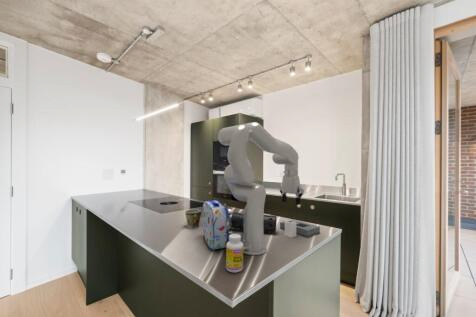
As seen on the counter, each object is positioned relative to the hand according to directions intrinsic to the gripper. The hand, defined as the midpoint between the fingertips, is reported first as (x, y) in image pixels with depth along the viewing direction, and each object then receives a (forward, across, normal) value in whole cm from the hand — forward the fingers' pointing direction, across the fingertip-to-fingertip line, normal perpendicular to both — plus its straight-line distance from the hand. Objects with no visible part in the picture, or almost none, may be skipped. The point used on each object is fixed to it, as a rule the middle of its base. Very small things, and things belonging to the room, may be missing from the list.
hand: (291, 203), depth 122 cm
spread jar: (+19, -34, -22) cm, 45 cm away
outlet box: (+18, -2, +11) cm, 21 cm away
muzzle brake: (+18, -19, -12) cm, 29 cm away
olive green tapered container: (+19, -47, -37) cm, 63 cm away
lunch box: (+19, -16, -40) cm, 47 cm away
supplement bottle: (+19, +11, -48) cm, 53 cm away
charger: (+18, 0, 0) cm, 18 cm away
